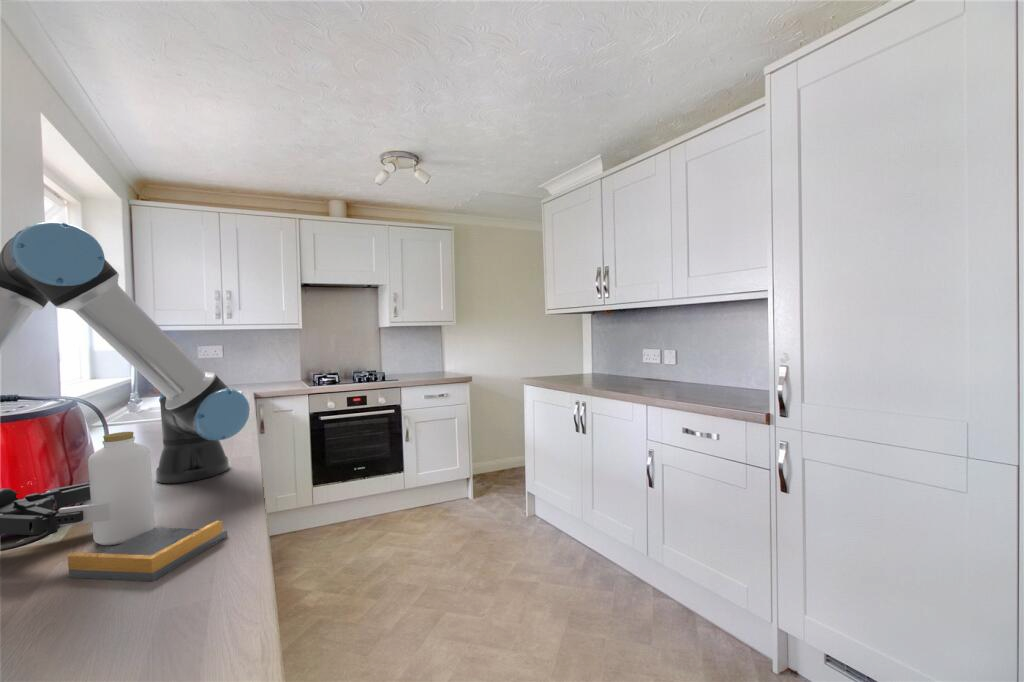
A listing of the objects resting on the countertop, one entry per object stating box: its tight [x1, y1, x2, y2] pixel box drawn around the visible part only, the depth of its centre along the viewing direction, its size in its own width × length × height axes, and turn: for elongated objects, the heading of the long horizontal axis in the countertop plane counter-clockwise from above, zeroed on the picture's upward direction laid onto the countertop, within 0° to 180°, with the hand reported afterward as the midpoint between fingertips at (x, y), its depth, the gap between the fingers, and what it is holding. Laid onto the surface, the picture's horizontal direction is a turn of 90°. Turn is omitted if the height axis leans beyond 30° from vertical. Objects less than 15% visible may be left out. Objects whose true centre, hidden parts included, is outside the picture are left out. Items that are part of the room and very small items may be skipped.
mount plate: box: [67, 520, 228, 582], centre depth 74 cm, size 14×14×3 cm
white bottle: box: [87, 431, 156, 546], centre depth 82 cm, size 8×8×18 cm
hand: (131, 496), depth 82 cm, fingers open, 13 cm apart
